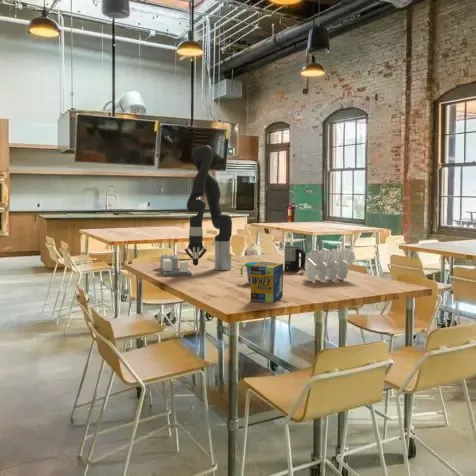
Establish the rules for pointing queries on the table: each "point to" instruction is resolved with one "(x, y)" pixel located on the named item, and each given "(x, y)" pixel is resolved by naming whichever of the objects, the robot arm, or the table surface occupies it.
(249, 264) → the snack cup
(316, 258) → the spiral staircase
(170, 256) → the paw print plaque
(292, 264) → the milk frother
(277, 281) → the protein box
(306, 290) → the table surface
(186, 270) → the tab
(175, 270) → the switch bank
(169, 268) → the tab middle
